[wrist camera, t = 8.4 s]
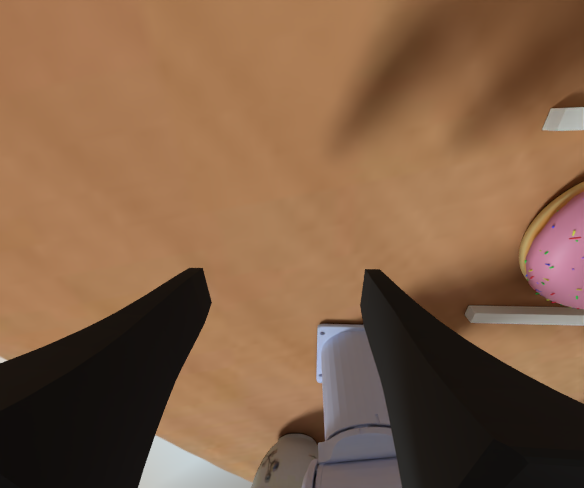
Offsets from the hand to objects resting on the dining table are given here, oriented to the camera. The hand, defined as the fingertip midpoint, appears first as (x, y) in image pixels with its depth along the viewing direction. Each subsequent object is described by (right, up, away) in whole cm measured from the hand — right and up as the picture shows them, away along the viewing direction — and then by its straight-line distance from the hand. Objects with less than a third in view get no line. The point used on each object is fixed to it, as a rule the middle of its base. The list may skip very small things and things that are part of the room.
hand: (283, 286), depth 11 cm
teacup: (+2, -30, +27) cm, 40 cm away
